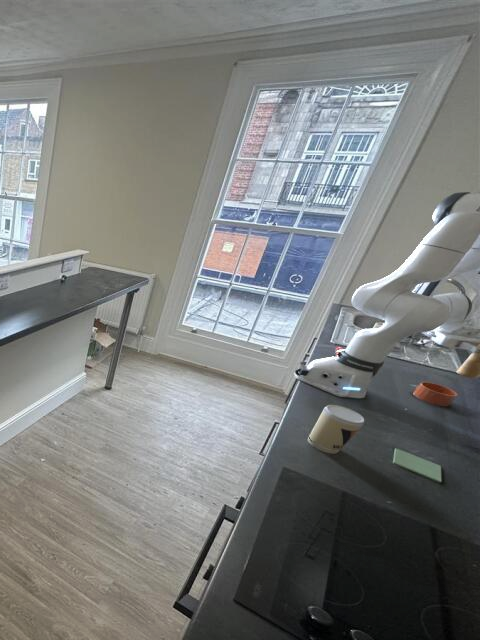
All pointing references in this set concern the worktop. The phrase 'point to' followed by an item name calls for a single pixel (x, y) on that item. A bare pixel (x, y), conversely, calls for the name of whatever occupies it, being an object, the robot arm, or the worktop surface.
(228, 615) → the worktop surface
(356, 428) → the coffee cup
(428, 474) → the plate
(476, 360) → the pepper mill
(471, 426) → the worktop surface
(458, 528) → the worktop surface
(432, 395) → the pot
